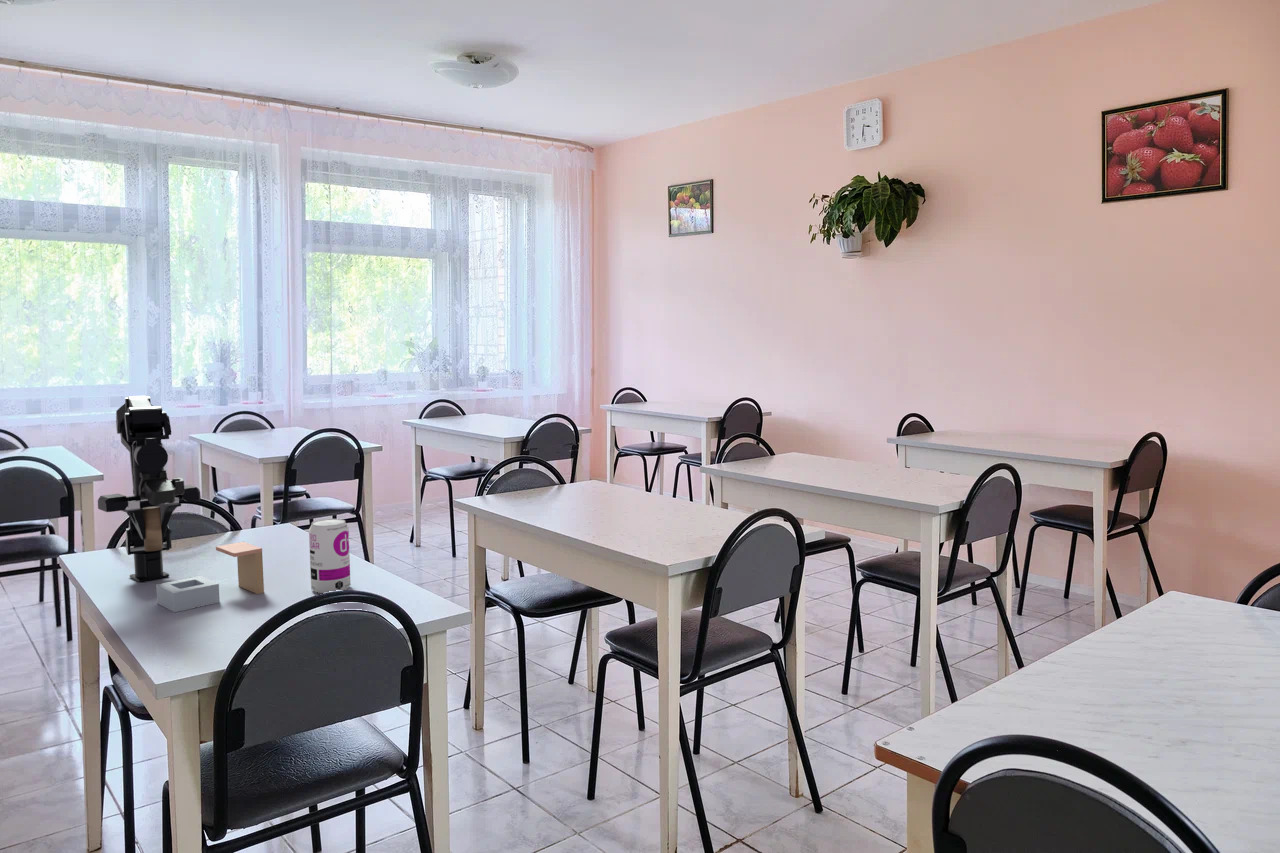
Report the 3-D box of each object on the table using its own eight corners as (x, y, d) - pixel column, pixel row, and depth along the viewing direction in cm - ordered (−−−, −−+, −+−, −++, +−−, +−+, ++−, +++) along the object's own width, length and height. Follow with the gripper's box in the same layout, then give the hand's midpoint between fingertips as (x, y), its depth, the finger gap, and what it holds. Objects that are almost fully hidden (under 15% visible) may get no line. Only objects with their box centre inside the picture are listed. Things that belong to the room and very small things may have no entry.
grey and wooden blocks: (157, 603, 189) (154, 557, 188) (245, 584, 202) (243, 541, 201) (174, 612, 183) (171, 564, 182) (264, 592, 196) (262, 548, 195)
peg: (142, 549, 194) (139, 508, 193) (159, 546, 197) (156, 505, 196) (148, 552, 192) (145, 510, 191) (165, 549, 195) (162, 507, 194)
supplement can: (358, 586, 202) (356, 519, 200) (334, 596, 194) (331, 527, 192) (327, 582, 204) (325, 517, 203) (303, 592, 196) (300, 524, 195)
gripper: (113, 474, 180) (118, 551, 182) (209, 464, 194) (213, 536, 196) (94, 469, 188) (99, 543, 189) (188, 459, 202) (192, 528, 203)
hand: (152, 537), depth 194 cm, fingers closed on peg, 3 cm apart
